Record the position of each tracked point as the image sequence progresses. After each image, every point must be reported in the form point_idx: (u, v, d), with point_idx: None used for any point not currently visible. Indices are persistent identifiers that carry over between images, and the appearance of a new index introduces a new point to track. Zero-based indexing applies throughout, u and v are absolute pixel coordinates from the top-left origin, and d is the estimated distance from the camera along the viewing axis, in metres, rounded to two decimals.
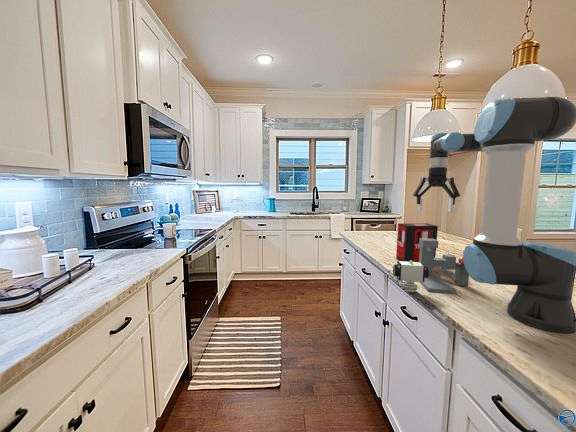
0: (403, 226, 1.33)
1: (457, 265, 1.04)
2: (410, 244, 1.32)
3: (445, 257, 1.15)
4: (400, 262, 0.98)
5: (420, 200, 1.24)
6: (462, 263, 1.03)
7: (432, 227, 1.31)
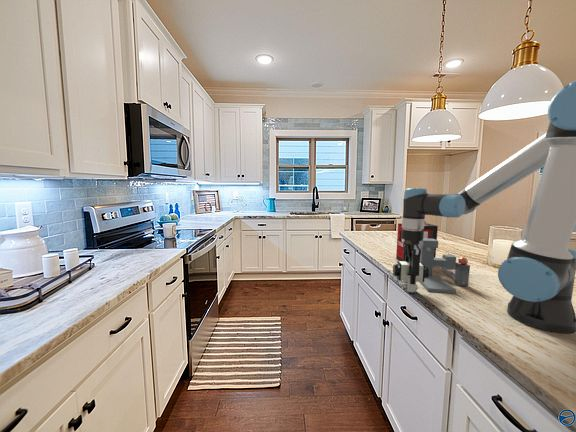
0: None
1: (457, 265, 1.04)
2: None
3: (445, 257, 1.15)
4: (400, 262, 0.98)
5: None
6: (462, 263, 1.03)
7: (432, 227, 1.31)
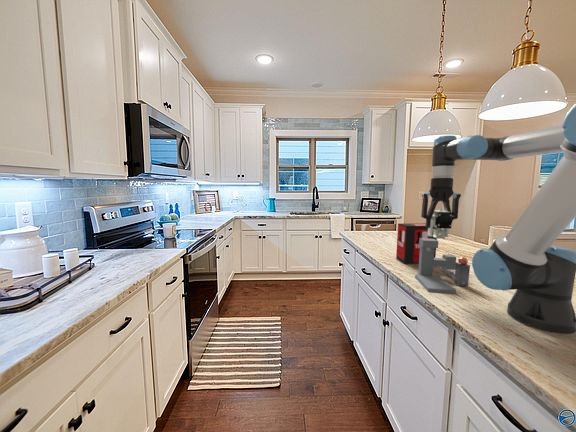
0: (403, 226, 1.33)
1: (457, 265, 1.04)
2: (410, 244, 1.32)
3: (445, 257, 1.15)
4: (442, 211, 0.98)
5: (430, 223, 1.01)
6: (462, 263, 1.03)
7: None
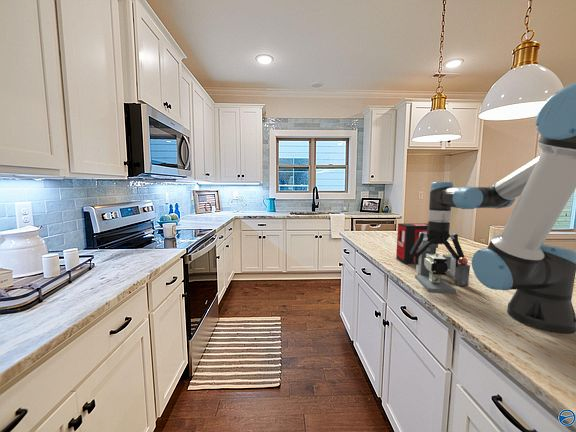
0: (403, 226, 1.33)
1: None
2: (410, 244, 1.32)
3: (445, 257, 1.15)
4: (438, 258, 1.00)
5: (418, 260, 1.04)
6: (462, 263, 1.03)
7: None
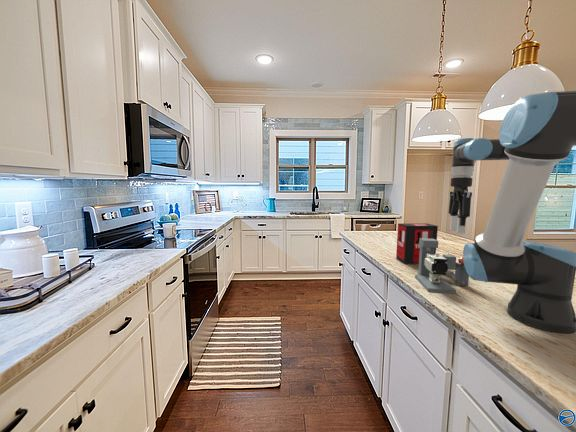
0: (403, 226, 1.34)
1: (457, 265, 1.04)
2: (410, 244, 1.32)
3: (445, 257, 1.15)
4: (438, 258, 1.00)
5: None
6: (462, 263, 1.03)
7: (432, 227, 1.31)
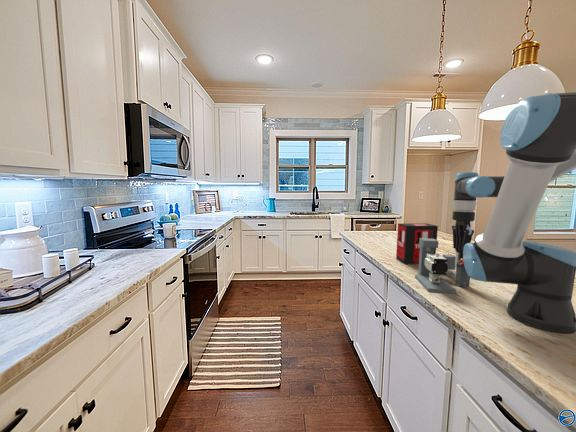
0: (403, 226, 1.34)
1: (458, 266, 1.04)
2: (410, 244, 1.32)
3: (445, 257, 1.15)
4: (438, 258, 1.00)
5: None
6: (463, 264, 1.02)
7: (432, 227, 1.31)
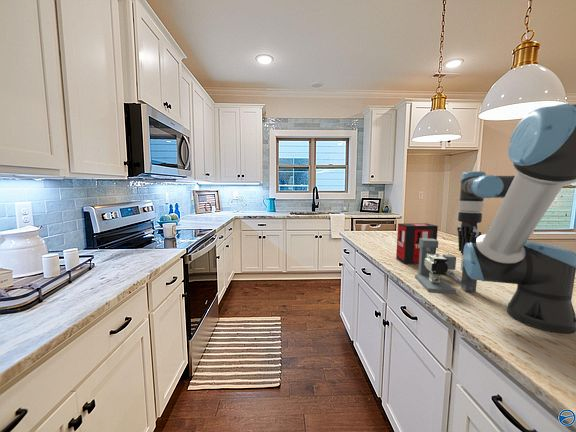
0: (403, 226, 1.33)
1: (464, 269, 0.99)
2: (410, 244, 1.32)
3: (445, 257, 1.15)
4: (438, 258, 1.00)
5: None
6: None
7: (432, 227, 1.31)
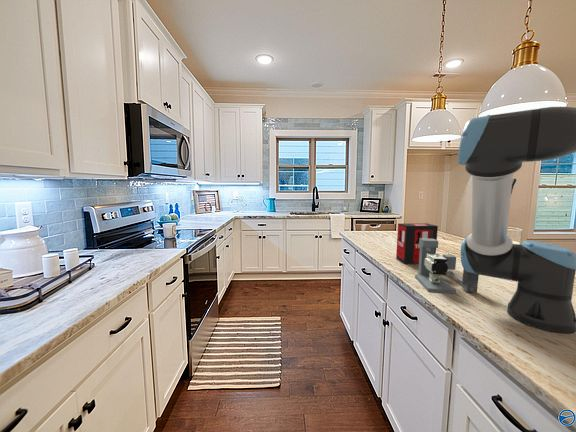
0: (403, 226, 1.33)
1: (465, 270, 0.98)
2: (410, 244, 1.32)
3: (445, 257, 1.15)
4: (438, 258, 1.00)
5: None
6: None
7: (432, 227, 1.31)
